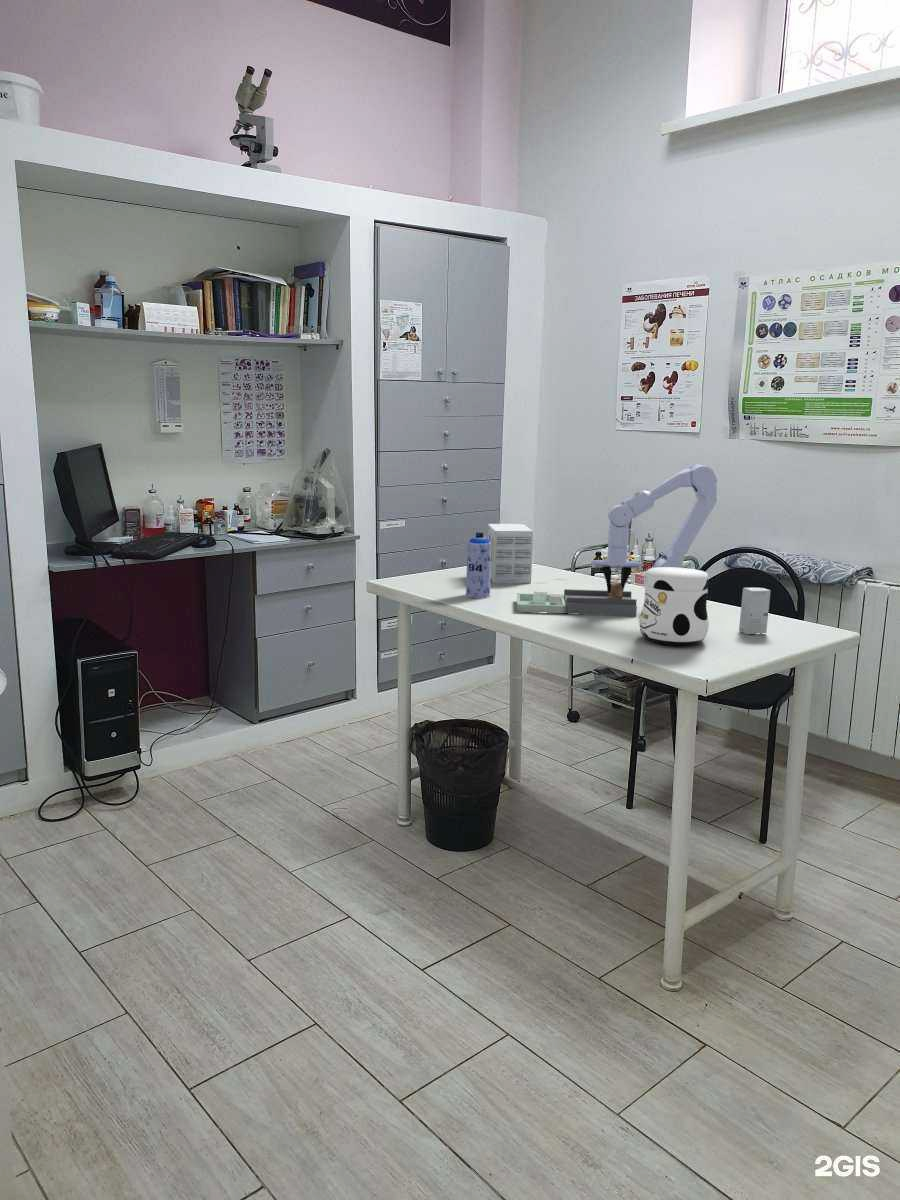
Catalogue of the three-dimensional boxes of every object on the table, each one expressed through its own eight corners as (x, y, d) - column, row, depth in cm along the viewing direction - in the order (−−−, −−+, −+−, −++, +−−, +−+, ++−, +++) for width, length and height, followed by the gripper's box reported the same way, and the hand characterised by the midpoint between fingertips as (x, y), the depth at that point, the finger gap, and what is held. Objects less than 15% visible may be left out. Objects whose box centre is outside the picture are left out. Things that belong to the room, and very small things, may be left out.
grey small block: (534, 591, 276) (533, 601, 276) (532, 594, 272) (532, 604, 272) (547, 592, 275) (546, 602, 276) (546, 594, 271) (545, 604, 272)
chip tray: (562, 602, 278) (563, 594, 277) (565, 614, 262) (566, 606, 262) (516, 600, 279) (517, 593, 278) (517, 612, 263) (517, 604, 262)
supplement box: (485, 574, 322) (487, 523, 318) (522, 574, 323) (524, 523, 319) (493, 583, 305) (494, 530, 301) (532, 583, 306) (534, 530, 303)
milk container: (625, 639, 235) (629, 571, 231) (661, 629, 247) (666, 563, 243) (683, 653, 223) (689, 581, 219) (719, 641, 235) (725, 573, 231)
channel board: (629, 605, 276) (630, 590, 275) (636, 616, 261) (637, 600, 261) (563, 602, 277) (564, 588, 276) (566, 613, 263) (567, 598, 262)
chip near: (559, 594, 268) (549, 593, 268) (560, 597, 264) (550, 596, 264) (559, 607, 268) (549, 607, 268) (560, 610, 264) (549, 610, 265)
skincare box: (746, 635, 242) (750, 590, 239) (737, 631, 246) (741, 587, 244) (767, 634, 243) (771, 590, 241) (758, 630, 248) (762, 586, 245)
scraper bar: (618, 594, 272) (619, 581, 271) (621, 600, 263) (622, 587, 262) (608, 593, 272) (609, 580, 271) (611, 600, 263) (612, 587, 263)
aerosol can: (461, 597, 283) (463, 533, 278) (470, 592, 290) (472, 530, 286) (485, 599, 280) (487, 535, 276) (493, 594, 287) (495, 531, 283)
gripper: (641, 545, 269) (638, 590, 271) (591, 543, 269) (589, 588, 272) (644, 549, 262) (641, 595, 265) (593, 547, 263) (591, 593, 265)
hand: (615, 592), depth 268 cm, fingers closed on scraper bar, 3 cm apart
